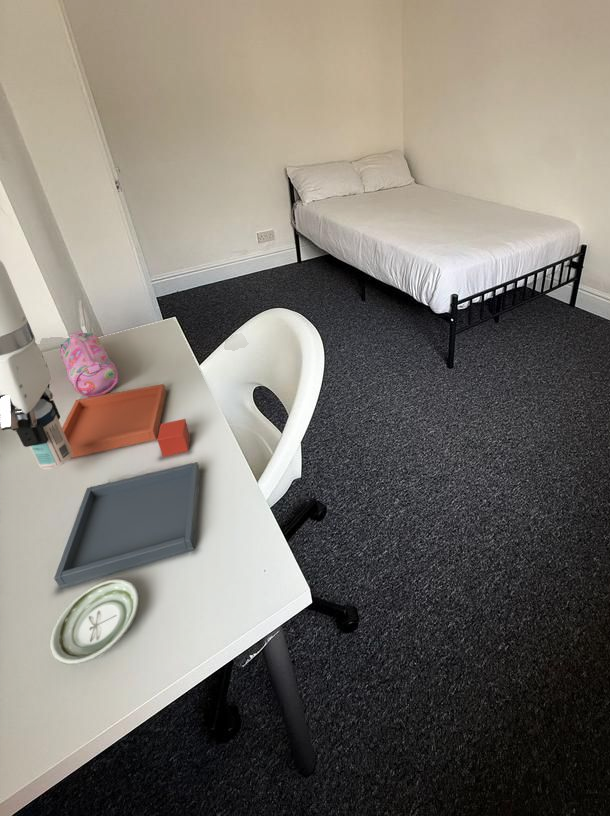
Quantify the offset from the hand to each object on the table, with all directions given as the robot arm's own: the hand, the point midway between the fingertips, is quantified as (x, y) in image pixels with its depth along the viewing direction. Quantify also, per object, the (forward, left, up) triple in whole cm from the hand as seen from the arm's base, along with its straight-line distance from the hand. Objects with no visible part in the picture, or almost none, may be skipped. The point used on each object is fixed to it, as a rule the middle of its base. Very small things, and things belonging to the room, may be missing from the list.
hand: (43, 431), depth 69 cm
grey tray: (+14, -13, -12) cm, 22 cm away
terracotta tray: (+5, +14, -12) cm, 19 cm away
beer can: (0, 0, -7) cm, 7 cm away
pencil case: (-4, +34, -12) cm, 37 cm away
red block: (+18, +3, -12) cm, 22 cm away
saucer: (+12, -28, -12) cm, 33 cm away
